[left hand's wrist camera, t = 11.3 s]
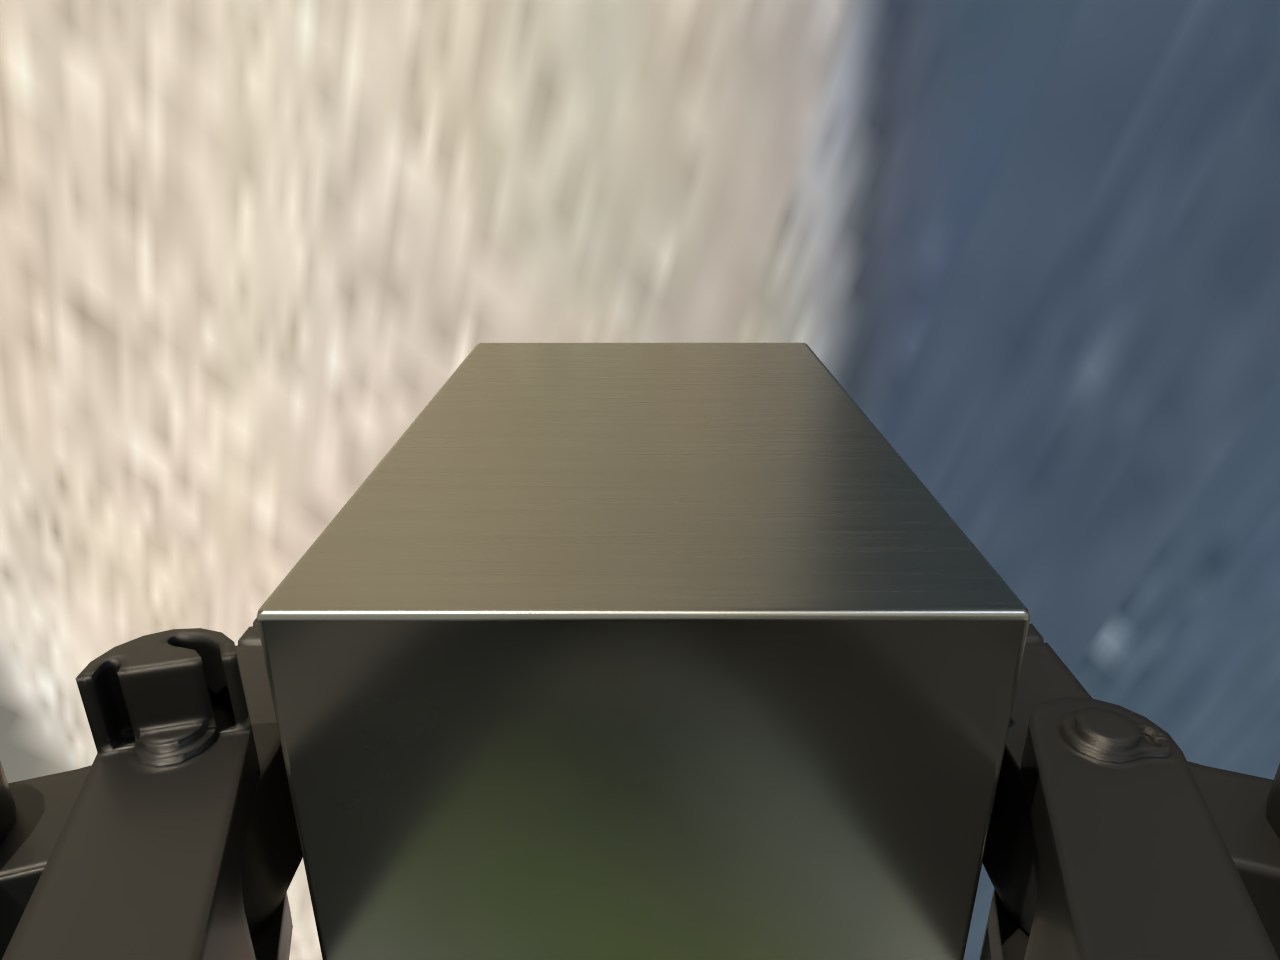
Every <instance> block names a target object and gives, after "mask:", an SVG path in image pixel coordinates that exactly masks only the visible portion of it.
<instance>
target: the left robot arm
mask: <svg viewBox="0 0 1280 960" xmlns="http://www.w3.org/2000/svg"><path fill="white" fill-rule="evenodd" d="M76 681H77V685H78V688H79V691H80V695H81V698H82V701H83V705H84V708H85V711H86V715H87V718H88V722H89V725H90V728H91V732H92V735H93V738H94V742H95V745H96V749H97V752H98V753H97V756H96V758H95V760H94V762H93V764H92V766H88V767H84V768H80V769H77V770H72V771H67V772H62V773H57V774H52V775H47V776H43V777H38V778H33V779H28V780H23V781H18V782H13V783H9V784H8V782H7V779H6V776H5V773H4V770H3V768H2V765H1V762H0V960H289V954H290V945H291V936H292V927H293V926H292V919H291V913H290V907H289V902H288V897H287V889H288V887H289V885H290V883H291V881H292V879H293V877H294V875H295V872H296V870H297V868H298V866H299V864H300V862H301V860H302V858H303V855H302V850H301V844H300V839H299V834H298V829H297V824H296V819H295V814H294V808H293V803H292V798H291V793H290V788H289V783H288V778H287V772H286V767H285V762H284V757H283V752H282V747H281V742H280V736H279V731H278V726H277V721H276V716H275V711H274V705H273V700H272V695H271V690H270V685H269V680H268V675H267V669H266V664H265V659H264V654H263V649H262V644H261V639H260V633H259V628H258V623H257V618H256V619H255V621H254V622H253V627H249V628H248V629H247V631H246V632H245V633H244V634H243V635H242V637H241V638H240V639H239V640H238V646H235V644H234V642H233V641H232V640H231V639H229V638H228V637H227V636H225V635H224V634H223V633H221V632H216V631H211V630H206V629H201V628H196V629H173V630H168V631H164V632H159V633H155V634H150V635H145V636H142V637H139V638H137V639H134V640H132V641H129V642H127V643H124V644H122V645H119V646H116V647H114V648H112V649H111V650H109V651H108V652H106V653H104V654H103V655H101V656H100V657H98V658H96V659H95V660H93V661H91V662H90V663H89V664H88V665H87V667H86V668H85V669H84V670H83V671H82V672H81V673H80V674H79V675H78V676H77V677H76ZM982 863H983V865H984V867H985V869H986V871H987V873H988V875H989V877H990V879H991V882H992V884H993V886H994V892H993V897H992V902H991V907H990V912H989V916H988V921H987V926H986V931H985V935H984V940H983V945H982V950H981V955H980V959H979V960H1280V764H1279V767H1278V770H1277V773H1276V775H1275V778H1274V780H1271V779H1266V778H1261V777H1256V776H1251V775H1246V774H1241V773H1237V772H1232V771H1227V770H1222V769H1217V768H1212V767H1207V766H1203V765H1199V764H1195V763H1192V762H1188V761H1186V758H1185V756H1184V754H1183V752H1182V751H1181V749H1180V748H1179V747H1178V745H1177V744H1176V743H1175V742H1174V740H1173V739H1172V738H1171V736H1170V735H1169V734H1168V733H1167V732H1165V731H1164V730H1163V729H1161V728H1160V727H1158V726H1157V725H1156V724H1154V723H1153V722H1151V721H1150V720H1149V719H1147V718H1146V717H1143V716H1141V715H1139V714H1137V713H1135V712H1132V711H1130V710H1128V709H1126V708H1123V707H1121V706H1119V705H1115V704H1111V703H1107V702H1103V701H1099V700H1095V699H1092V697H1091V696H1090V695H1089V694H1088V693H1087V691H1086V690H1085V689H1084V688H1083V686H1082V685H1081V684H1080V683H1079V681H1078V680H1077V679H1076V678H1075V677H1074V675H1073V674H1072V673H1071V672H1070V670H1069V669H1068V668H1067V667H1066V665H1065V664H1064V663H1063V662H1062V661H1061V659H1060V658H1059V657H1058V656H1057V654H1056V653H1055V652H1054V651H1053V649H1052V648H1051V647H1050V646H1049V644H1048V643H1044V642H1043V637H1042V636H1041V635H1040V633H1039V632H1038V631H1037V630H1036V628H1035V627H1034V626H1033V625H1032V624H1029V627H1028V632H1027V637H1026V642H1025V647H1024V652H1023V657H1022V662H1021V668H1020V673H1019V678H1018V683H1017V688H1016V693H1015V698H1014V703H1013V708H1012V713H1011V719H1010V724H1009V729H1008V734H1007V739H1006V744H1005V749H1004V754H1003V759H1002V764H1001V770H1000V775H999V780H998V785H997V790H996V795H995V800H994V805H993V810H992V815H991V821H990V826H989V831H988V836H987V841H986V846H985V851H984V856H983V861H982Z"/></svg>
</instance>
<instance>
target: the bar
mask: <svg viewBox="0 0 1280 960" xmlns="http://www.w3.org/2000/svg"><path fill="white" fill-rule="evenodd" d="M1029 622H1030V615H1029V612H1028V609H1027V608H1026V607H1025V606H1024V604H1023V603H1022V602H1021V601H1020V600H1019V598H1018V597H1017V596H1016V595H1015V594H1014V592H1013V591H1012V590H1011V589H1010V588H1009V586H1008V585H1007V584H1006V583H1005V582H1004V580H1003V579H1002V578H1001V577H1000V576H999V574H998V573H997V572H996V571H995V570H994V568H993V567H992V566H991V565H990V564H989V562H988V561H987V560H986V559H985V558H984V556H983V555H982V554H981V553H980V552H979V550H978V549H977V548H976V547H975V546H974V544H973V543H972V542H971V541H970V540H969V538H968V537H967V536H966V535H965V534H964V532H963V531H962V530H961V529H960V528H959V526H958V525H957V524H956V523H955V522H954V520H953V519H952V518H951V517H950V516H949V514H948V513H947V512H946V511H945V510H944V508H943V507H942V506H941V505H940V504H939V502H938V501H937V500H936V499H935V498H934V496H933V495H932V494H931V493H930V492H929V490H928V489H927V488H926V487H925V486H924V484H923V483H922V482H921V481H920V480H919V478H918V477H917V476H916V475H915V474H914V472H913V471H912V470H911V469H910V468H909V466H908V465H907V464H906V463H905V462H904V460H903V459H902V458H901V457H900V456H899V454H898V453H897V452H896V451H895V450H894V448H893V447H892V446H891V445H890V444H889V442H888V441H887V440H886V439H885V438H884V436H883V435H882V434H881V433H880V432H879V430H878V429H877V428H876V427H875V426H874V424H873V423H872V422H871V421H870V420H869V418H868V417H867V416H866V415H865V414H864V412H863V411H862V410H861V409H860V408H859V406H858V405H857V404H856V403H855V402H854V400H853V399H852V398H851V397H850V396H849V394H848V393H847V392H846V391H845V390H844V388H843V387H842V386H841V385H840V384H839V382H838V381H837V380H836V379H835V378H834V376H833V375H832V374H831V373H830V372H829V370H828V369H827V368H826V367H825V366H824V364H823V363H822V362H821V361H820V360H819V358H818V357H817V356H816V355H815V354H814V352H813V351H812V350H811V349H810V348H809V346H808V345H807V344H805V343H479V344H477V345H476V347H475V348H474V349H473V350H472V351H471V353H470V354H469V355H468V356H467V357H466V359H465V360H464V361H463V362H462V364H461V365H460V366H459V367H458V368H457V370H456V371H455V372H454V373H453V374H452V376H451V377H450V378H449V379H448V381H447V382H446V383H445V384H444V385H443V387H442V388H441V389H440V390H439V391H438V393H437V394H436V395H435V396H434V398H433V399H432V400H431V401H430V402H429V404H428V405H427V406H426V407H425V408H424V410H423V411H422V412H421V413H420V415H419V416H418V417H417V418H416V419H415V421H414V422H413V423H412V424H411V425H410V427H409V428H408V429H407V430H406V432H405V433H404V434H403V435H402V436H401V438H400V439H399V440H398V441H397V442H396V444H395V445H394V446H393V447H392V449H391V450H390V451H389V452H388V453H387V455H386V456H385V457H384V458H383V459H382V461H381V462H380V463H379V464H378V466H377V467H376V468H375V469H374V470H373V472H372V473H371V474H370V475H369V476H368V478H367V479H366V480H365V481H364V483H363V484H362V485H361V486H360V487H359V489H358V490H357V491H356V492H355V494H354V495H353V496H352V497H351V498H350V500H349V501H348V502H347V503H346V504H345V506H344V507H343V508H342V509H341V511H340V512H339V513H338V514H337V515H336V517H335V518H334V519H333V520H332V521H331V523H330V524H329V525H328V526H327V528H326V529H325V530H324V531H323V532H322V534H321V535H320V536H319V537H318V538H317V540H316V541H315V542H314V543H313V545H312V546H311V547H310V548H309V549H308V551H307V552H306V553H305V554H304V555H303V557H302V558H301V559H300V560H299V562H298V563H297V564H296V565H295V566H294V568H293V569H292V570H291V571H290V572H289V574H288V575H287V576H286V577H285V579H284V580H283V581H282V582H281V583H280V585H279V586H278V587H277V588H276V589H275V591H274V592H273V593H272V594H271V596H270V597H269V598H268V599H267V600H266V602H265V603H264V604H263V605H262V606H261V608H260V609H259V611H258V614H257V623H258V628H259V633H260V639H261V644H262V649H263V654H264V659H265V664H266V669H267V675H268V680H269V685H270V690H271V695H272V700H273V705H274V711H275V716H276V721H277V726H278V731H279V736H280V742H281V747H282V752H283V757H284V762H285V767H286V772H287V778H288V783H289V788H290V793H291V798H292V803H293V808H294V814H295V819H296V824H297V829H298V834H299V839H300V844H301V850H302V855H303V860H304V865H305V870H306V875H307V880H308V886H309V891H310V896H311V901H312V906H313V911H314V916H315V922H316V927H317V932H318V937H319V942H320V947H321V953H322V958H323V960H963V958H964V953H965V948H966V943H967V938H968V933H969V928H970V923H971V917H972V912H973V907H974V902H975V897H976V892H977V887H978V882H979V877H980V872H981V866H982V861H983V856H984V851H985V846H986V841H987V836H988V831H989V826H990V821H991V815H992V810H993V805H994V800H995V795H996V790H997V785H998V780H999V775H1000V770H1001V764H1002V759H1003V754H1004V749H1005V744H1006V739H1007V734H1008V729H1009V724H1010V719H1011V713H1012V708H1013V703H1014V698H1015V693H1016V688H1017V683H1018V678H1019V673H1020V668H1021V662H1022V657H1023V652H1024V647H1025V642H1026V637H1027V632H1028V627H1029Z"/></svg>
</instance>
